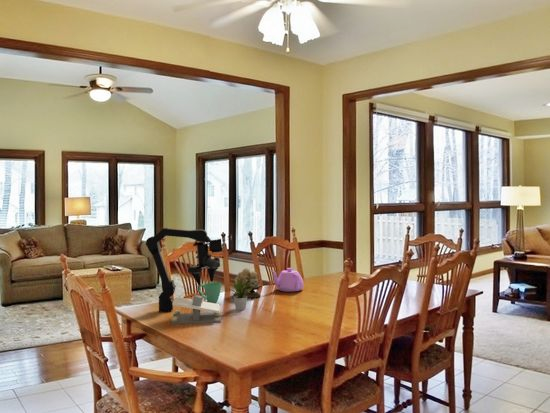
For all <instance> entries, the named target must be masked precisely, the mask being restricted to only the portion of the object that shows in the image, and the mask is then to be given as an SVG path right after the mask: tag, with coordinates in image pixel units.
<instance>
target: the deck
mask: <svg viewBox="0 0 550 413" xmlns="http://www.w3.org/2000/svg"><path fill="white" fill-rule="evenodd" d="M193 295H194V296H193V298H187V297H180V296H175V297H174V299H173V300H172V301H173V304H172V305H173V306H176V307H182V308H187V309H191V310H193V309H198V310H200V311H205V312H216V313H219V311H220V304H219V303H217V302H216V303H210V302H208V301H204V299H203V296H201V295H200V294H193Z"/></svg>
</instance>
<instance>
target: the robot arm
mask: <svg viewBox="0 0 550 413" xmlns="http://www.w3.org/2000/svg"><path fill="white" fill-rule="evenodd" d="M165 237H175V238H176V237H177V238H188V239H192V240H195V241H194V243H193V245H192V247H196V251H197V252H196V253H197V255H196V256H195V259H197V262H198V263H196V265H192V266H188V267H187V273H188V274H190V275H191V276H192V277H193V279H194V280H195V281H196V283H197V285H201V284H202V283H201V282H202V281H201V275H202V270H204V269H206V270H207V274H208V278H209V280H210V283H213V281H214V278H215V274H216V271H217V270H218V269H219V267H220V268H221V264H220V262H221V261H220V260H221V259H220V257H214V258H212V256H211V254H209V252H211V253H213V254H214V253H223V250H224V249H223V244H222V238H217V239H211V238H210V237H209V236H208V232H207V231H206V230H205V229H192V230H191V229H190V230H188V229H177V228H168V227H164V228H162V229H161V230H160V231H159V232H158V233H157V234H155V235H153V236H150V237H148V238H147V239H146V241H145V246H146V247H147V249H148V252H150V254H151V256H152V257H153V261H154V263H155V267H156V269H157V270H156V271H157V272H158V275H159V278H160V281H161V290H162V291H161V293H160V294H159V296H158V313H171V312H172V311H174V310H173V309H174V305H172V304H173V301H174V300H172V299H173V298H172V296H174V294H175V292H176V287H177V286H176V285H175V279H172V280H171V278H170V276H169V274H168V271H167V268H166V265H165V263H164V260H163V257H162V254H161V253H162V252H161V246H160V241H162V240H163V239H164V238H165Z"/></svg>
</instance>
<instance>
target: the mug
mask: <svg viewBox="0 0 550 413" xmlns="http://www.w3.org/2000/svg"><path fill="white" fill-rule="evenodd" d="M197 285H198V284H197ZM202 288H203V289H204V292H203V291H202V290H201V289H202ZM221 289H222V284H221V282H206V283H201V285H198V286H197V292H198V295H200V296H203V297H202V299H203V300H206V301H207V302H210V303H216V304H217V303H218V301H219V298H220V294H221Z"/></svg>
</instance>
